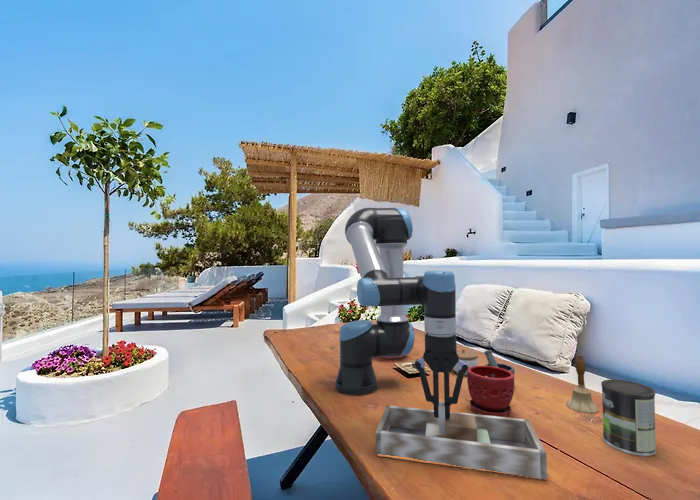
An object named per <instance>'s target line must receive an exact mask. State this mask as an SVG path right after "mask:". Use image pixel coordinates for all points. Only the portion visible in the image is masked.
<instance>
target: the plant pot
mask: <svg viewBox="0 0 700 500" xmlns="http://www.w3.org/2000/svg"><path fill="white" fill-rule="evenodd" d="M491 374H494V375H495V376H494V377H492V376H491ZM466 376H467V377H466V378H467V379H466V381H467V389H468V393H469V396H470V399H471V400H469V406H470V408H471V409H472V410H473V411H474V412H475V413H477V414H478V415H488V416H498V417H508V415H509V414H510V413H511V412H512V407H511V405H510V404H511V403H512V400H513V397H514V392H515V374H513V373H512V372H510V371H508V370H505V369H502V368H498V367H492V366H485V365H477V366H472V367H470V368H468V371H467V375H466ZM487 376H488V377H487ZM500 377H501V378H500Z"/></svg>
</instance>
